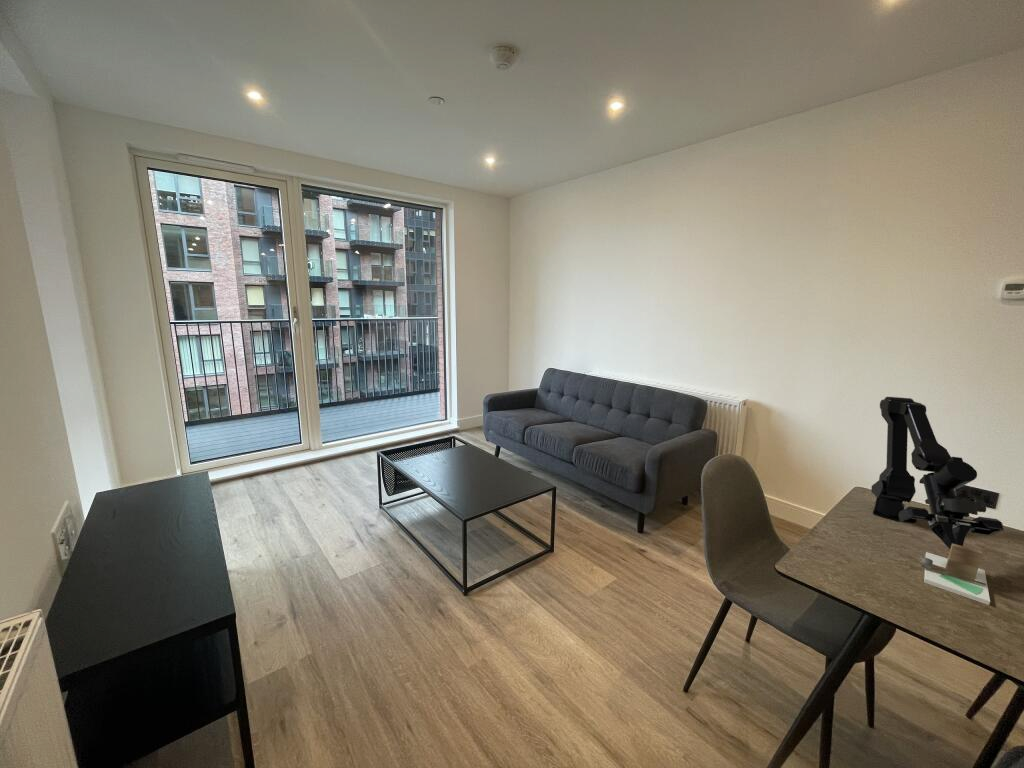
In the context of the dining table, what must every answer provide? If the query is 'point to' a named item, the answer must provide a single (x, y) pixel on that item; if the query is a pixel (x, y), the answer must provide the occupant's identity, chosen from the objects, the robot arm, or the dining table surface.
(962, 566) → the brown slab with knob
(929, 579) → the green-marked white board
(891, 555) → the dining table surface
